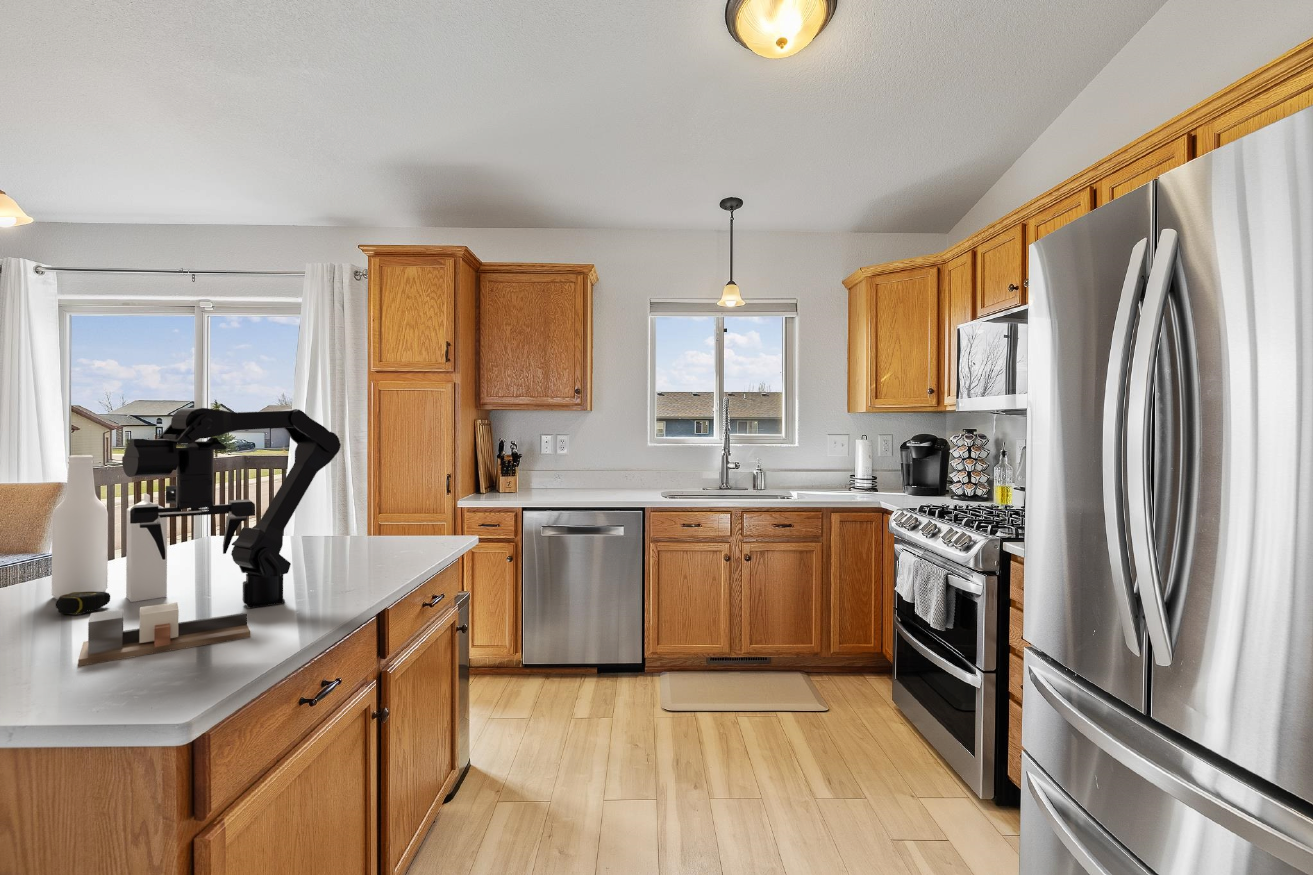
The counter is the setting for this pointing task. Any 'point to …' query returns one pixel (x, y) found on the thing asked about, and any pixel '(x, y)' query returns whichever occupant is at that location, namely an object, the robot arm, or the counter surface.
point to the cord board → (174, 646)
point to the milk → (145, 561)
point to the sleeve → (158, 620)
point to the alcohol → (79, 534)
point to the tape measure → (81, 602)
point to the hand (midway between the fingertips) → (194, 556)
